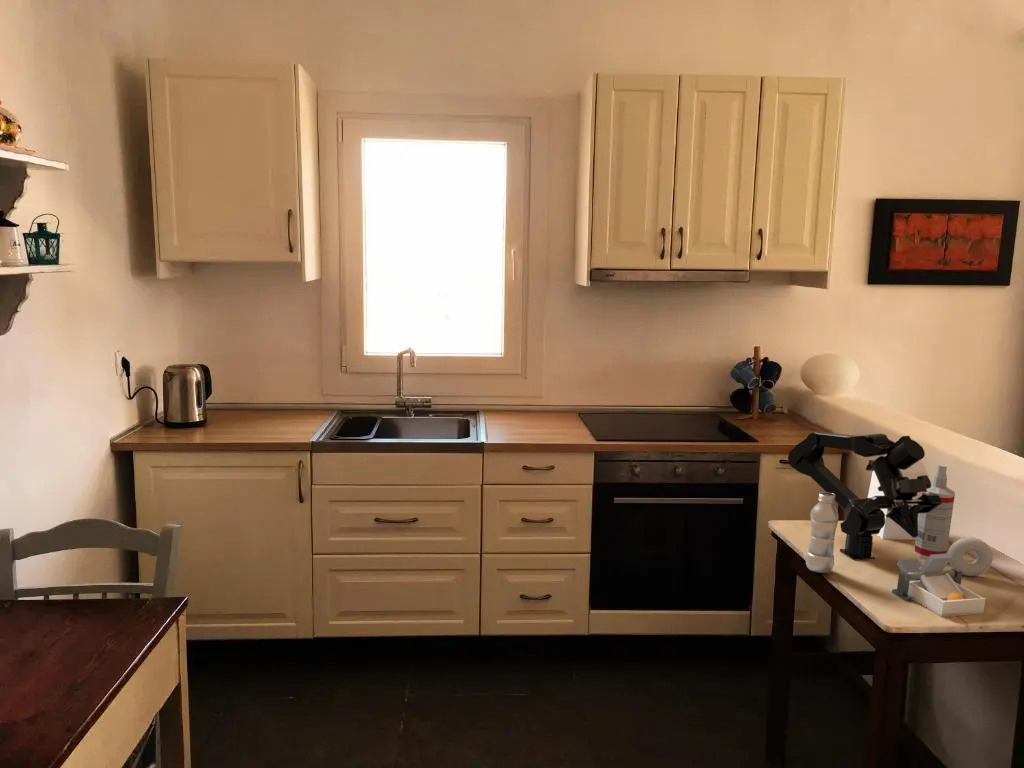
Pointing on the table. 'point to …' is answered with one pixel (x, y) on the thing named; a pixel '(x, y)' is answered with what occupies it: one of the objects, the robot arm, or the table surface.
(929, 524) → the spray bottle
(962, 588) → the white storage bin
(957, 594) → the ball
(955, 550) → the donut
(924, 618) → the table surface
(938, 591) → the lever
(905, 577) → the stand
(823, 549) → the plastic bottle
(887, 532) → the milk
